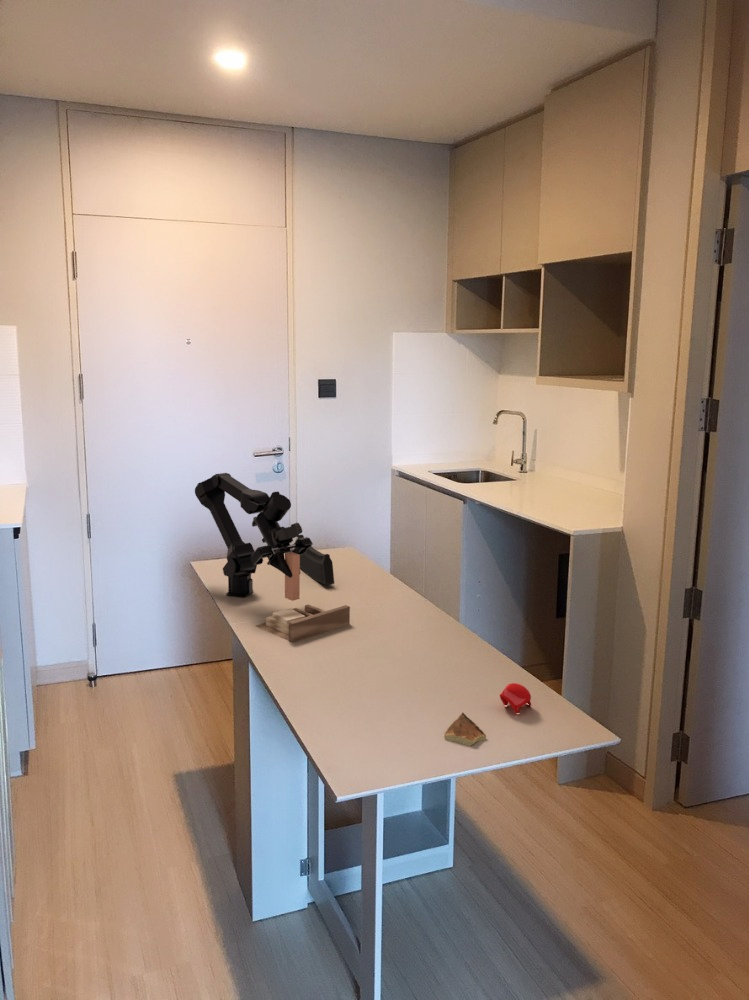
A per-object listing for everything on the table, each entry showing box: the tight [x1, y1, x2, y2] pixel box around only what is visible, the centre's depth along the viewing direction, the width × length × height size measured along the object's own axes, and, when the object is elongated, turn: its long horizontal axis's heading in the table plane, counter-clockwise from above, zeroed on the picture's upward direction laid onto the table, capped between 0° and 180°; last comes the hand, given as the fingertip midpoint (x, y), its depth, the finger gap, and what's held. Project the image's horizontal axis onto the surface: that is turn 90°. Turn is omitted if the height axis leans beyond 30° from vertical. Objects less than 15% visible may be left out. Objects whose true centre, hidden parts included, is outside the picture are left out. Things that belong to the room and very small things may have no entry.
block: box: [284, 552, 301, 602], centre depth 225 cm, size 4×2×13 cm
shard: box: [443, 712, 487, 747], centre depth 163 cm, size 11×8×2 cm
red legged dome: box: [499, 682, 532, 714], centre depth 172 cm, size 8×6×6 cm
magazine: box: [295, 534, 335, 586], centre depth 264 cm, size 17×3×30 cm
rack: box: [255, 604, 351, 643], centre depth 217 cm, size 16×20×6 cm
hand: (295, 575), depth 224 cm, fingers closed on block, 2 cm apart
